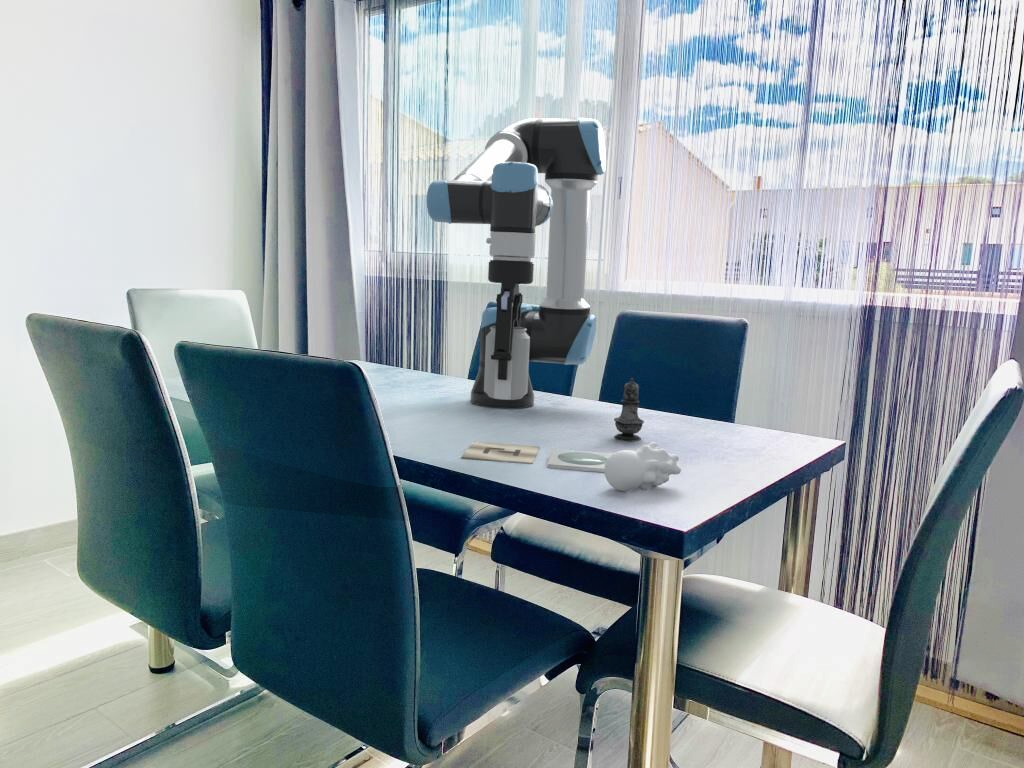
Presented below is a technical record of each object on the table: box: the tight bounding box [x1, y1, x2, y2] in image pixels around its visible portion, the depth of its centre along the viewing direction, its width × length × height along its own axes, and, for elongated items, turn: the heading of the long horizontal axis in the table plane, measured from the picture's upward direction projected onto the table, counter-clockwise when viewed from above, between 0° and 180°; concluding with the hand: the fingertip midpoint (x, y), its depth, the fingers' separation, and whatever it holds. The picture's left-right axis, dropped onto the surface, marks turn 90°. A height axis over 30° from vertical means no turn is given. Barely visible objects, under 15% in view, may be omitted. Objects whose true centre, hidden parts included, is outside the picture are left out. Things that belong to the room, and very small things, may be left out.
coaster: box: [546, 448, 615, 473], centre depth 126 cm, size 11×11×1 cm
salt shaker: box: [613, 377, 645, 442], centre depth 146 cm, size 6×6×12 cm
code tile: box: [460, 441, 540, 465], centre depth 130 cm, size 12×12×1 cm
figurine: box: [603, 441, 682, 492], centre depth 112 cm, size 7×7×12 cm
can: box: [484, 326, 530, 400], centre depth 128 cm, size 8×8×12 cm
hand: (505, 394), depth 129 cm, fingers closed on can, 7 cm apart
